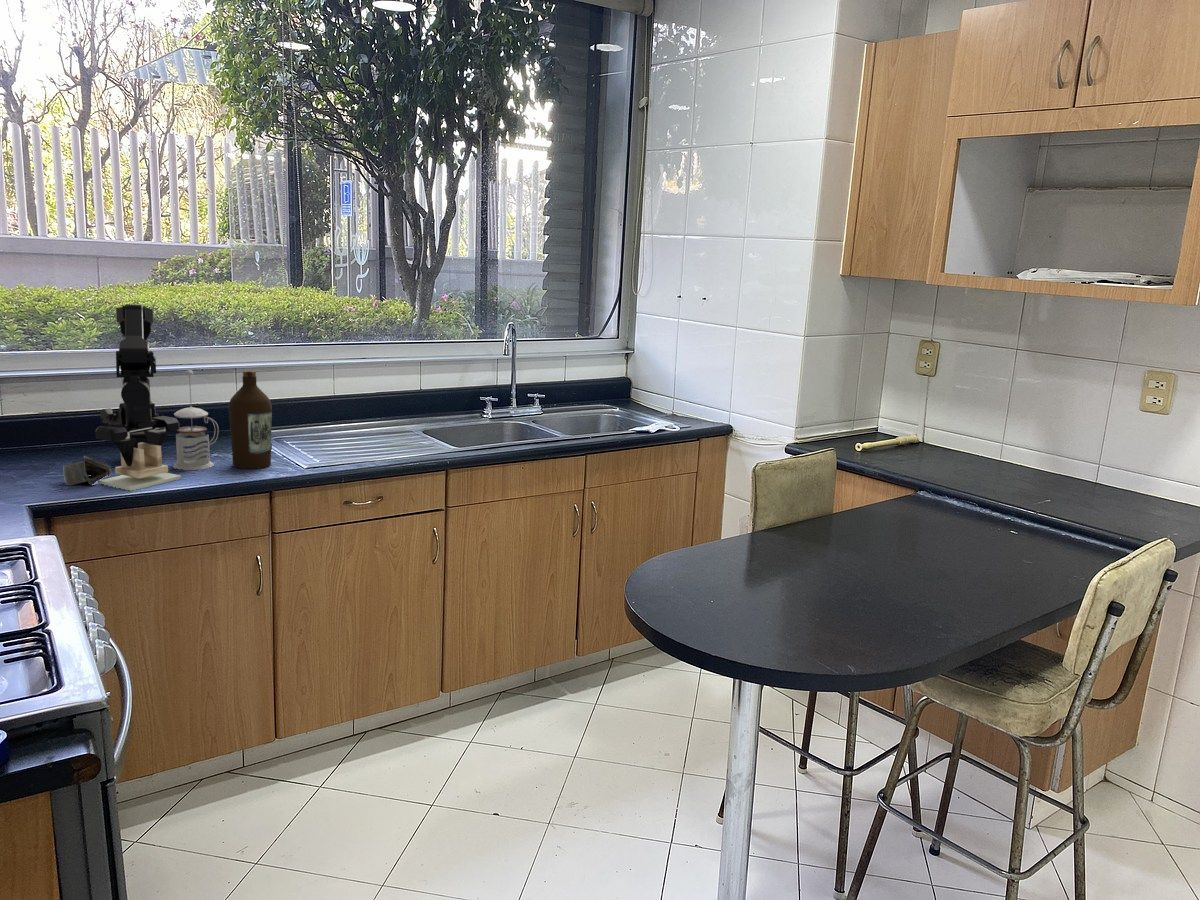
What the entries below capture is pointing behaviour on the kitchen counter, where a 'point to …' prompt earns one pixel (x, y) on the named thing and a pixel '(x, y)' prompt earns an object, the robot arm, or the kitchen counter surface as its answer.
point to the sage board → (138, 481)
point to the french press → (193, 439)
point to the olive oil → (250, 425)
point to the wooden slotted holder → (143, 462)
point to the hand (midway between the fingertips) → (140, 463)
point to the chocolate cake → (85, 471)
